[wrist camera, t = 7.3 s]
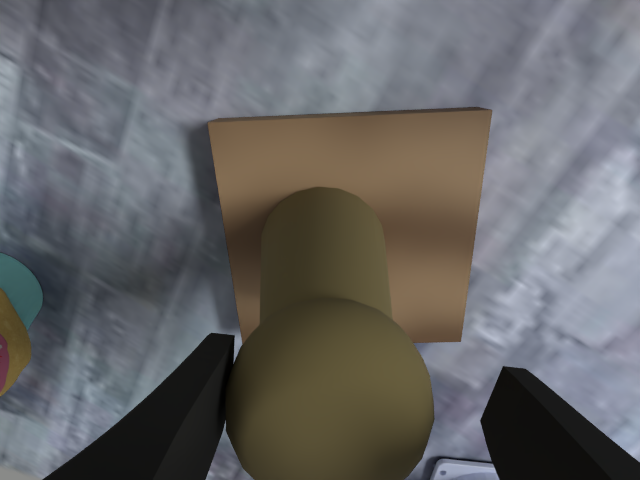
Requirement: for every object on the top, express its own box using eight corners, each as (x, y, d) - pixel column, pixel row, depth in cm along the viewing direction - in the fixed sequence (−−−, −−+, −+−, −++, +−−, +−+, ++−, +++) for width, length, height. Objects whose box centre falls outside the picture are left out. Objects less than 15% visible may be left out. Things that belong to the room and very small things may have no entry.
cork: (238, 265, 18) (144, 493, 8) (301, 161, 16) (276, 296, 6) (340, 318, 20) (366, 571, 10) (410, 228, 18) (535, 429, 8)
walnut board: (447, 314, 23) (461, 341, 20) (251, 320, 23) (242, 347, 21) (470, 105, 18) (492, 109, 15) (222, 116, 18) (207, 122, 16)
